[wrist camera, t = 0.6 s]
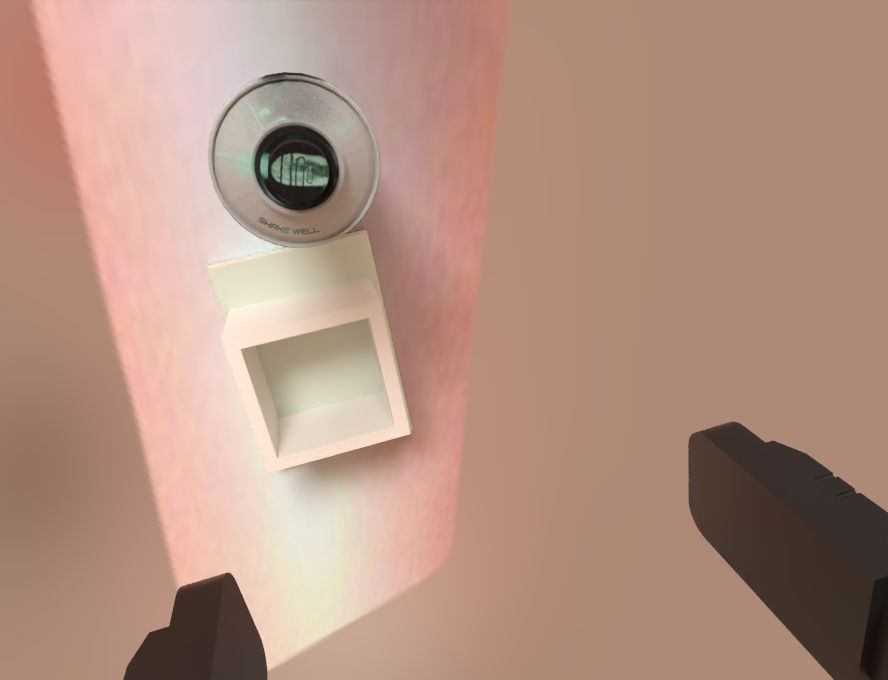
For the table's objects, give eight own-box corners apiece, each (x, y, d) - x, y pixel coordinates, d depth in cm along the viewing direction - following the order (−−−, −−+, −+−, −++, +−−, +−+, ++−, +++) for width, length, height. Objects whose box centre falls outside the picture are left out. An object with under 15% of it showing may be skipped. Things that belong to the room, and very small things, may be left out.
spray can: (226, 113, 34) (149, 122, 16) (314, 70, 34) (338, 30, 16) (277, 203, 36) (261, 300, 18) (359, 161, 37) (425, 217, 18)
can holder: (208, 264, 37) (193, 293, 31) (365, 229, 38) (378, 250, 32) (274, 458, 42) (271, 513, 36) (409, 421, 43) (427, 468, 38)
